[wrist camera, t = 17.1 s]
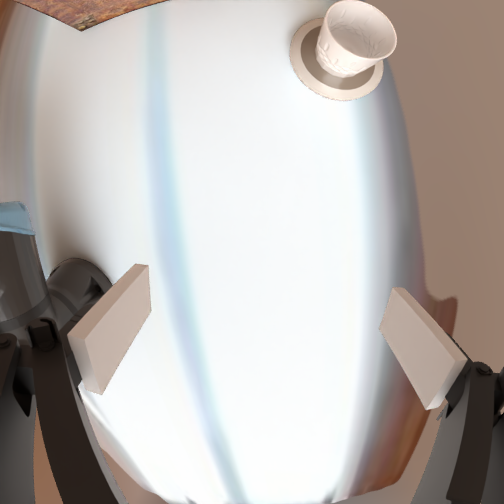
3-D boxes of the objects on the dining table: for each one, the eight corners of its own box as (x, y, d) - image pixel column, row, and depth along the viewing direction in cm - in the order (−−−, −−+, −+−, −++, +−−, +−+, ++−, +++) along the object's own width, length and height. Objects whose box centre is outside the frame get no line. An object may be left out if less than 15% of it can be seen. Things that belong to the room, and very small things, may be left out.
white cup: (370, 84, 30) (402, 64, 21) (313, 80, 31) (330, 56, 21) (362, 35, 27) (388, 5, 18) (306, 30, 28) (319, -5, 19)
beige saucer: (280, 84, 32) (280, 81, 31) (299, 11, 28) (301, 6, 27) (370, 114, 33) (375, 112, 31) (384, 40, 29) (388, 37, 27)
